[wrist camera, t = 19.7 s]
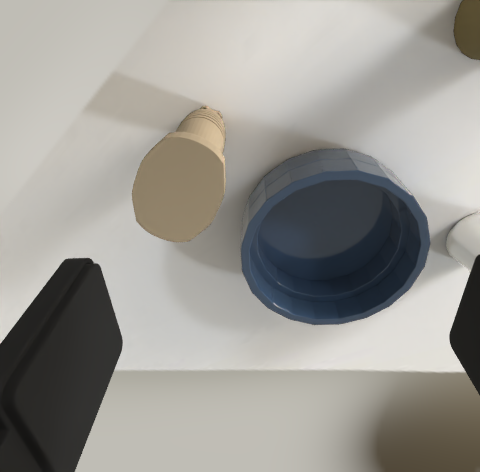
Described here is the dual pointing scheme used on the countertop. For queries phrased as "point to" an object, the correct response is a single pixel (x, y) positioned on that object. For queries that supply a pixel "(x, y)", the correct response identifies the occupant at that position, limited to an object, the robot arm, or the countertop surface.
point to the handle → (182, 179)
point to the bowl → (332, 238)
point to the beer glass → (465, 241)
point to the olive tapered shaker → (468, 28)
